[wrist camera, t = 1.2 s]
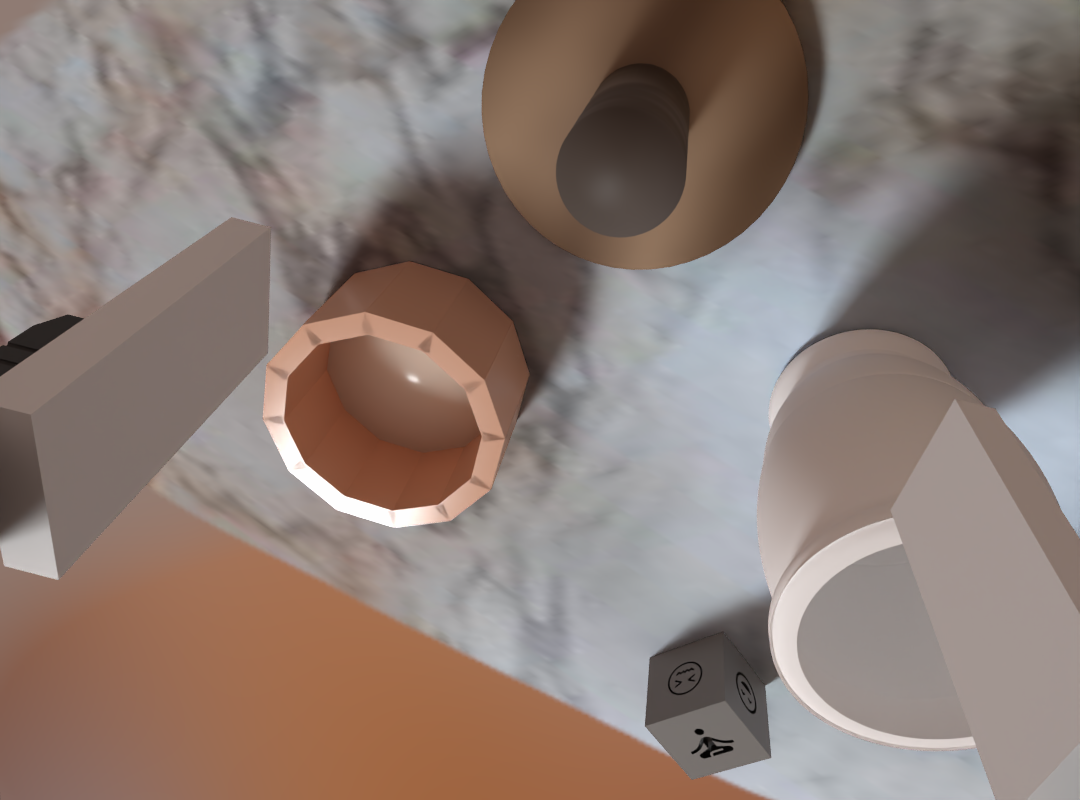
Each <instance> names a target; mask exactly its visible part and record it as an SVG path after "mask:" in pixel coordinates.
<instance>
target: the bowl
mask: <svg viewBox="0 0 1080 800" xmlns="http://www.w3.org/2000/svg"><path fill="white" fill-rule="evenodd" d="M266 366H267V368H266V381H265V395H264V409H263V420H264V422H265V424H266V426H267V428H268V430H269V432H270V434H271V436H272V438H273V440H274V442H275V444H276V446H277V448H278V450H279V452H280V454H281V456H282V458H283V460H284V462H285V464H286V466H287V468H288V470H289V471H290V472H291V473H292V474H293V475H295V476H296V477H297V478H298V479H300V480H301V481H302V482H303V483H304V484H306V485H307V486H308V487H309V488H311V489H312V490H313V491H314V492H315V493H317V494H318V495H319V496H320V497H322V498H323V499H324V500H325V501H327V502H328V503H329V504H330V505H331V506H333V507H334V508H335V509H336V510H339V511H342V512H345V513H349V514H352V515H355V516H358V517H361V518H365V519H368V520H371V521H374V522H378V523H381V524H384V525H387V526H390V527H394V528H396V527H405V526H413V525H421V524H429V523H437V522H446V521H451V520H452V519H453V518H455V517H456V516H457V515H458V514H460V513H461V512H462V511H464V510H465V509H466V508H467V507H469V506H470V505H471V504H473V503H474V502H475V501H477V500H478V499H479V498H480V497H482V496H483V495H484V494H486V493H487V492H488V491H489V490H491V488H492V486H493V483H494V480H495V478H496V475H497V472H498V470H499V467H500V464H501V462H502V459H503V456H504V454H505V451H506V448H507V446H508V443H509V440H510V438H511V435H512V432H513V430H514V427H515V424H516V422H517V417H518V414H519V410H520V407H521V403H522V400H523V396H524V392H525V389H526V385H527V382H528V378H529V375H530V374H529V371H528V367H527V364H526V361H525V358H524V355H523V352H522V349H521V345H520V342H519V339H518V336H517V333H516V330H515V327H514V323H513V321H512V320H511V319H510V318H509V317H508V316H507V315H506V314H505V313H504V312H503V311H501V310H500V309H499V308H498V307H497V306H496V305H495V304H494V303H493V302H492V301H491V300H490V299H489V298H488V297H487V296H486V295H485V294H484V293H483V292H482V291H481V290H480V289H479V288H477V287H476V286H475V285H474V284H473V283H472V282H471V281H470V280H469V279H467V278H464V277H460V276H457V275H454V274H451V273H447V272H444V271H441V270H437V269H434V268H431V267H428V266H424V265H421V264H418V263H415V262H411V261H408V262H403V263H399V264H394V265H390V266H385V267H381V268H376V269H372V270H367V271H363V272H359V273H355V274H354V275H352V276H351V277H350V278H349V279H348V280H347V281H346V282H345V283H344V284H343V285H342V286H341V287H340V288H339V289H338V290H337V291H336V292H335V293H334V294H333V295H332V296H331V297H330V298H329V299H328V300H327V301H326V302H325V303H324V304H323V305H322V306H321V307H320V308H319V309H318V310H317V311H316V312H315V313H314V314H313V315H312V316H311V317H310V318H309V319H308V320H307V321H306V322H305V323H304V324H303V326H302V327H301V328H300V329H299V330H298V331H297V332H296V333H295V334H294V336H293V337H292V338H291V339H290V340H289V341H288V342H287V343H286V344H285V345H284V347H283V348H282V349H281V350H280V351H279V352H278V353H277V354H276V355H275V356H274V358H273V359H272V360H271V361H270V362H269V363H268V364H267V365H266Z"/></svg>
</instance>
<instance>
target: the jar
mask: <svg viewBox="0 0 1080 800" xmlns="http://www.w3.org/2000/svg"><path fill="white" fill-rule="evenodd" d="M954 399H958V400H962V401H966V402H970V403H974V404H978V405H982V406H984V405H983V403H982V402H981V401H980V400H979V399H978V398H977V397H976V396H975V395H974V394H973V393H972V392H971V391H969V390H968V389H967V388H966V387H965V386H964V385H962V384H961V383H960V382H959V381H957V380H956V379H954V378H953V377H951V375H950V373H949V371H948V369H947V367H946V366H945V364H944V363H943V362H942V360H941V359H940V358H939V357H938V356H937V355H936V354H935V353H934V352H933V351H932V350H930V349H929V348H928V347H926V346H925V345H924V344H922V343H920V342H919V341H917V340H915V339H913V338H910V337H908V336H905V335H902V334H899V333H896V332H891V331H885V330H876V329H864V330H854V331H848V332H843V333H839V334H836V335H833V336H830V337H827V338H825V339H823V340H821V341H819V342H817V343H815V344H813V345H811V346H810V347H808V348H807V349H805V350H804V351H803V352H801V353H800V354H799V355H798V356H796V357H795V358H794V359H793V360H792V361H791V362H790V363H789V364H788V366H787V367H786V368H785V369H784V371H783V372H782V373H781V375H780V377H779V378H778V380H777V382H776V384H775V386H774V389H773V391H772V395H771V398H770V403H769V425H770V432H769V435H768V438H767V443H766V447H765V453H764V461H763V467H762V471H761V477H760V483H759V490H758V501H757V530H758V541H759V548H760V554H761V560H762V564H763V569H764V573H765V577H766V580H767V584H768V587H769V590H770V593H771V596H772V600H771V604H770V610H769V617H768V633H769V641H770V649H771V655H772V659H773V662H774V665H775V668H776V670H777V672H778V674H779V676H780V678H781V680H782V682H783V683H784V685H785V686H786V688H787V689H788V690H789V692H790V693H791V694H792V695H793V696H794V698H795V699H796V700H797V701H798V702H799V703H800V704H801V705H802V706H803V707H805V708H806V709H807V710H808V711H809V712H811V713H812V714H813V715H815V716H816V717H817V718H819V719H820V720H822V721H823V722H825V723H827V724H828V725H830V726H832V727H834V728H836V729H838V730H840V731H842V732H844V733H847V734H849V735H851V736H854V737H857V738H859V739H862V740H865V741H869V742H872V743H876V744H880V745H884V746H889V747H894V748H901V749H909V750H920V751H954V750H965V749H973V748H977V747H976V744H975V741H974V739H973V736H972V733H971V730H970V728H969V725H968V722H967V719H966V717H965V714H964V711H963V708H962V706H961V703H960V700H959V697H958V695H957V692H956V689H955V686H954V684H953V681H952V678H951V675H950V673H949V670H948V667H947V664H946V662H945V659H944V656H943V653H942V651H941V648H940V645H939V642H938V640H937V637H936V634H935V631H934V629H933V626H932V623H931V620H930V618H929V615H928V612H927V609H926V607H925V604H924V601H923V598H922V596H921V593H920V590H919V587H918V585H917V582H916V579H915V576H914V574H913V571H912V568H911V565H910V563H909V560H908V557H907V554H906V552H905V549H904V546H903V543H902V541H901V538H900V535H899V532H898V530H897V527H896V524H895V521H894V519H893V516H892V513H891V508H892V507H893V505H894V503H895V502H896V500H897V498H898V496H899V495H900V493H901V491H902V489H903V488H904V486H905V484H906V482H907V481H908V479H909V477H910V476H911V474H912V472H913V470H914V469H915V467H916V465H917V463H918V462H919V460H920V458H921V457H922V455H923V453H924V451H925V450H926V448H927V446H928V444H929V443H930V441H931V439H932V437H933V436H934V434H935V432H936V431H937V429H938V427H939V425H940V424H941V422H942V420H943V418H944V417H945V415H946V413H947V412H948V410H949V408H950V406H951V405H952V403H953V401H954ZM1007 428H1008V427H1007ZM1008 429H1009V428H1008ZM1009 431H1010V432H1011V434H1012V435H1013V437H1014V438H1015V440H1016V441H1017V443H1018V445H1019V446H1020V448H1021V449H1022V451H1023V452H1024V454H1025V455H1026V457H1027V458H1028V460H1029V461H1030V463H1031V465H1032V466H1033V468H1034V469H1035V471H1036V472H1037V474H1038V475H1039V477H1040V478H1041V480H1042V482H1043V483H1044V485H1045V486H1046V488H1047V489H1048V491H1049V492H1050V494H1051V495H1052V497H1053V498H1054V500H1055V502H1056V503H1057V505H1058V506H1059V504H1058V501H1057V499H1056V497H1055V495H1054V493H1053V491H1052V489H1051V487H1050V485H1049V483H1048V481H1047V479H1046V477H1045V476H1044V474H1043V472H1042V471H1041V469H1040V467H1039V466H1038V464H1037V463H1036V461H1035V460H1034V458H1033V457H1032V455H1031V454H1030V453H1029V451H1028V450H1027V449H1026V447H1025V446H1024V445H1023V443H1022V442H1021V441H1020V440H1019V439H1018V437H1017V436H1016V435H1015V434H1014V433H1013V432H1012V431H1011V430H1010V429H1009ZM1059 508H1060V506H1059ZM1060 509H1061V508H1060Z"/></svg>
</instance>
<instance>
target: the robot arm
mask: <svg viewBox="0 0 1080 800" xmlns="http://www.w3.org/2000/svg"><path fill="white" fill-rule="evenodd" d="M270 245H271V227H268V226H264V225H260V224H256V223H252V222H248V221H244V220H240V219H236V218H232V217H231V218H230V219H228V220H227V221H225V222H224V223H223V224H221V225H220V226H218V227H217V228H215V229H214V230H212V231H211V232H209V233H208V234H207V235H205V236H204V237H202V238H201V239H199V240H198V241H196V242H195V243H193V244H192V245H191V246H189V247H188V248H186V249H185V250H183V251H182V252H180V253H179V254H178V255H176V256H175V257H173V258H172V259H170V260H169V261H167V262H166V263H164V264H163V265H162V266H160V267H159V268H157V269H156V270H154V271H153V272H151V273H150V274H148V275H147V276H146V277H144V278H143V279H141V280H140V281H138V282H137V283H135V284H134V285H132V286H131V287H130V288H128V289H127V290H125V291H124V292H122V293H121V294H119V295H118V296H117V297H115V298H114V299H112V300H111V301H109V302H108V303H106V304H105V305H103V306H102V307H101V308H99V309H98V310H96V311H95V312H93V313H92V314H90V315H89V316H87V317H86V318H85V319H84V318H80V317H76V316H72V315H65V316H62V317H59V318H56V319H53V320H49V321H46V322H43V323H40V324H37V325H34V326H32V327H30V328H29V329H27V330H26V331H24V332H23V333H21V334H20V335H18V336H16V337H15V338H13V339H12V340H10V341H9V342H8V345H7V346H4V345H3V346H1V347H0V548H1V552H2V557H3V562H4V566H6V567H10V568H15V569H18V570H22V571H26V572H30V573H34V574H38V575H41V576H45V577H49V578H53V579H57V580H59V579H60V578H61V577H62V576H63V575H64V574H65V572H66V571H67V570H68V569H69V568H70V567H71V566H72V565H73V564H74V563H75V562H76V561H77V559H78V558H79V557H80V556H81V555H82V554H83V553H84V552H85V551H86V550H87V549H88V548H89V546H90V545H91V544H92V543H93V542H94V541H95V540H96V539H97V538H98V536H100V535H101V533H102V532H103V531H104V530H105V529H106V528H107V527H108V526H109V525H110V524H111V523H112V522H113V520H114V519H115V518H116V517H117V516H118V515H119V514H120V513H121V512H122V511H123V510H124V508H125V507H126V506H127V505H128V504H129V503H130V502H131V501H132V500H133V499H134V498H135V497H136V495H137V494H138V493H139V492H140V491H141V490H142V489H143V488H144V487H145V486H146V485H147V484H148V482H149V481H150V480H151V479H152V478H153V477H154V476H155V475H156V474H157V473H158V472H159V471H160V469H161V468H162V467H163V466H164V465H165V464H166V463H167V462H168V461H169V460H170V459H171V458H172V456H173V455H174V454H175V453H176V452H177V451H178V450H179V449H180V448H181V447H182V446H183V444H184V443H185V442H186V441H187V440H188V439H189V438H190V437H191V436H192V435H193V434H194V433H195V431H196V430H197V429H198V428H199V427H200V426H201V425H202V424H203V423H204V422H205V421H206V420H207V418H208V417H209V416H210V415H211V414H212V413H213V412H214V411H215V410H216V409H217V408H218V407H219V405H220V404H221V403H222V402H223V401H224V400H225V399H226V398H227V397H228V396H229V395H230V394H231V392H232V391H233V390H234V389H235V388H236V387H237V386H238V385H239V384H240V383H241V382H242V380H243V379H244V378H245V377H246V376H247V375H248V374H249V373H250V372H251V371H252V370H253V369H254V367H255V366H256V365H257V364H258V363H259V362H260V361H261V360H262V359H263V358H264V357H265V356H266V354H267V353H268V329H269V287H270ZM891 513H892V516H893V519H894V521H895V524H896V527H897V530H898V532H899V535H900V538H901V541H902V543H903V546H904V549H905V552H906V554H907V557H908V560H909V563H910V565H911V568H912V571H913V574H914V576H915V579H916V582H917V585H918V587H919V590H920V593H921V596H922V598H923V601H924V604H925V607H926V609H927V612H928V615H929V618H930V620H931V623H932V626H933V629H934V631H935V634H936V637H937V640H938V642H939V645H940V648H941V651H942V653H943V656H944V659H945V662H946V664H947V667H948V670H949V673H950V675H951V678H952V681H953V684H954V686H955V689H956V692H957V695H958V697H959V700H960V703H961V706H962V708H963V711H964V714H965V717H966V719H967V722H968V725H969V728H970V730H971V733H972V736H973V739H974V741H975V744H976V747H977V750H978V752H979V755H980V758H981V761H982V763H983V766H984V769H985V772H986V774H987V777H988V780H989V783H990V785H991V788H992V791H993V794H994V796H995V799H996V800H1080V538H1079V537H1078V535H1077V534H1076V532H1075V531H1074V529H1073V528H1072V526H1071V525H1070V523H1069V522H1068V520H1067V518H1066V517H1065V515H1064V514H1063V512H1062V511H1061V509H1060V508H1059V506H1058V505H1057V503H1056V502H1055V500H1054V498H1053V497H1052V495H1051V494H1050V492H1049V491H1048V489H1047V488H1046V486H1045V485H1044V483H1043V482H1042V480H1041V478H1040V477H1039V475H1038V474H1037V472H1036V471H1035V469H1034V468H1033V466H1032V465H1031V463H1030V461H1029V460H1028V458H1027V457H1026V455H1025V454H1024V452H1023V451H1022V449H1021V448H1020V446H1019V445H1018V443H1017V441H1016V440H1015V438H1014V437H1013V435H1012V434H1011V432H1010V431H1009V429H1008V428H1007V426H1006V425H1005V423H1004V421H1003V420H1002V418H1001V417H1000V415H999V414H998V412H997V411H996V409H994V408H990V407H986V406H982V405H978V404H974V403H970V402H966V401H962V400H958V399H954V401H953V403H952V405H951V406H950V408H949V410H948V412H947V413H946V415H945V417H944V418H943V420H942V422H941V424H940V425H939V427H938V429H937V431H936V432H935V434H934V436H933V437H932V439H931V441H930V443H929V444H928V446H927V448H926V450H925V451H924V453H923V455H922V457H921V458H920V460H919V462H918V463H917V465H916V467H915V469H914V470H913V472H912V474H911V476H910V477H909V479H908V481H907V482H906V484H905V486H904V488H903V489H902V491H901V493H900V495H899V496H898V498H897V500H896V502H895V503H894V505H893V507H892V508H891Z"/></svg>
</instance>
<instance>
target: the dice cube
mask: <svg viewBox="0 0 1080 800" xmlns="http://www.w3.org/2000/svg"><path fill="white" fill-rule="evenodd" d="M645 727H646V728H647V729H648V730H649V731H650V733H651V734H652V735H653V736H654V737H655V738H656V739H657V741H658V742H659V743H660V744H661V745H662V746H663V747H664V749H665V750H666V751H667V752H668V753H669V754H670V755H671V757H672V758H673V759H674V760H675V761H676V762H677V763H678V765H679V766H680V767H681V768H682V769H683V770H684V771H685V772H686V774H687V775H688V776H689V777H690V778H691V779H696V778H700V777H704V776H707V775H711V774H715V773H718V772H722V771H725V770H729V769H733V768H736V767H740V766H743V765H747V764H751V763H754V762H758V761H761V760H765V759H769V758H771V749H770V738H769V726H768V714H767V702H766V691H765V685H764V684H763V683H762V681H761V680H760V679H759V677H758V676H757V675H756V674H755V672H754V671H753V670H752V668H751V667H750V666H749V665H748V663H747V662H746V661H745V659H744V658H743V657H742V656H741V654H740V653H739V652H738V650H737V649H736V648H735V646H734V645H733V644H732V643H731V641H730V640H729V639H728V637H727V636H726V635H725V634H724V632H720V633H718V634H715V635H712V636H709V637H707V638H704V639H701V640H698V641H695V642H693V643H690V644H687V645H684V646H681V647H679V648H676V649H673V650H670V651H667V652H665V653H662V654H659V655H656V656H654V657H651V658H650V662H649V676H648V691H647V705H646V719H645Z"/></svg>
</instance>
